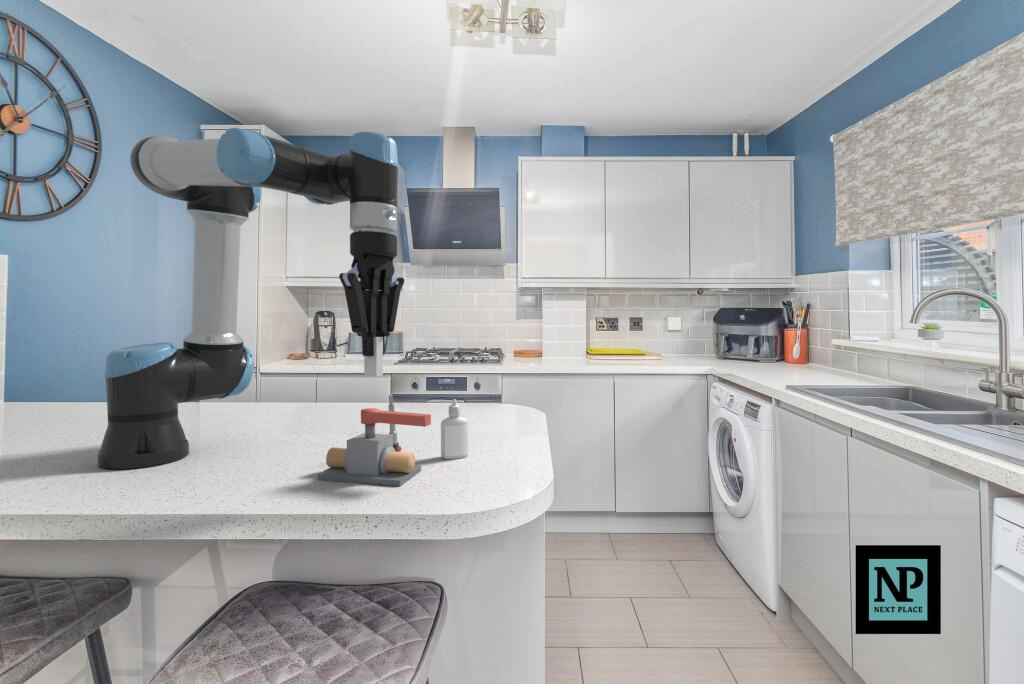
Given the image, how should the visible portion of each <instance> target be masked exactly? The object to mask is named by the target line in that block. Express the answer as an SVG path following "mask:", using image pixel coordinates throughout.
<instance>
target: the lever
mask: <svg viewBox="0 0 1024 684" xmlns="http://www.w3.org/2000/svg"><path fill="white" fill-rule="evenodd" d="M360 424H362V425H365V424H375V425H376V424H395V425H402V426H414V427H415V426H416V427H428V426H430V425H432V415H431V414H429V413H418V412H407V411H406V412H402V411H395V412H393V411H389V410H380V408H376V407H375V408H374V407H371V408H370V407H369V408H362V409H361V410H360Z"/></svg>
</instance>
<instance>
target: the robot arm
mask: <svg viewBox="0 0 1024 684" xmlns="http://www.w3.org/2000/svg"><path fill="white" fill-rule="evenodd" d="M348 149H349V152H346V153H343V154H342V153H341V154H337V155H330V154H326V153H323V152H320V151H318V150H314V149H310V148H308V147H303V146H300V145H296V144H292V143H289V142H286V141H284V140H280V139H277V138H273V137H271V136H269V135H268V136H267V135H264V134H262V133H261V132H259V131H255V130H250V129H249V130H247V129H243V128H239V127H230V128H228V129H226V131H225V132H224V133H223V134H222V135H221V136H220V138H209V139H208V138H206V139H205V138H204V139H192V140H191V139H190V140H188V139H187V140H181V139H177V138H175V137H171V136H168V135H167V136H166V135H157V136H156V135H154V136H148V137H145V138H143V139H140V140H139V141H138V142H137V143H136V144H135V145H134V146H133V147H132V150H131V152H130V156H129V157H130V158H129V159H130V163H129V164H130V166H131V170H132V172H133V174H134V176H135V177H136V178H137V180H138V181H139V182H140V183H141V184H142V185H143V186H145V187H146V188H147V189H149V190H151V191H152V192H153V193H155V194H158V195H161V196H163V197H165V198H170V199H173V200H178V201H183V202H186V212H187V213H188V214H189V215H190V216H191V217H192V218H193V220H194V250H193V277H192V278H193V281H192V287H193V288H192V290H193V291H192V312H191V313H192V317H191V320H192V322H191V331H190V333H188V334H187V335H186V336H184V337H183V342H182V345H183V346H182V348H178V347H177V345H176V343H174V342H169V341H167V342H155V343H146V344H137V345H130V346H127V347H122V348H118V349H113V350H112V351H111V352H109V353H108V354H107V356H106V358H105V371H104V378H105V382H106V383H105V385H106V389H105V390H106V409H107V428H106V430H105V432H104V436H103V439H102V443H101V447H100V449H99V451H98V453H97V466H98V465H99V466H100V467H99V466H98V467H99V468H102V467H104V468H103V469H107V468H111V469H110V470H127V469H128V470H129V469H139V468H140V469H141V468H146V467H153V466H159V464H160V465H163V464H168V463H172V462H175V461H178V460H182V459H183V458H185V456H186V457H187V456H189V454H190V443H189V440H188V439H187V438H186V434H185V431H184V429H183V427H182V424H181V421H180V418H179V404H182V403H188V402H189V403H190V402H197V401H198V402H199V401H204V400H205V401H206V400H213V399H225V398H228V397H233V396H239V395H240V394H242V393H244V392H245V390H246V389H247V388H248V387H249V385H250V384H251V382H252V379H253V377H254V371H255V361H254V360H255V359H254V358H253V353H252V351H251V350H250V349H249V347H247V346H246V345H244V339H243V338H242V337H241V336H240V335H239V334H238V333H237V326H238V325H237V322H238V302H239V301H238V300H239V299H238V297H239V273H240V272H239V271H240V252H241V251H240V248H241V247H240V244H241V226H242V225H243V224H245V223H246V222H247V221H248V220H249V214H250V213H252V212H254V211H256V210H257V208H258V207H259V205H260V204H259V203H260V202H261V200H262V193H263V192H262V191H263V190H262V188H263V189H264V188H265V189H270V190H271V189H272V190H275V191H280V192H287V193H289V194H293V195H299V196H303V197H304V198H306V199H307V200H308V201H310V202H311V203H312V204H315V205H334V204H335V205H336V204H339V203H344V202H348V201H349V229H350V230H352V231H353V232H351V233H350V235H349V254H350V255H351V256H352V257H353V259H352V263H351V264H350V265H351V266H350V267H351V268H350V269H349V270H348V271H346V272H340V274H339V277H338V278H339V280H340V283H341V285H342V286H343V288H344V289H343V290H344V294H345V298H346V299H345V300H346V305H347V312H348V317H349V322H350V327H351V331H352V333H355V334H356V335H357V336H358V337H361V342H362V343H361V344H362V345H361V347H362V348H361V349H362V350H361V353H362V357H363V361H364V362H363V364H364V365H363V368H364V371H363V372H364V373H363V374H364V375H363V376H365V377H375V378H376V377H377V378H378V377H382V376H384V373H383V371H384V368H383V367H384V355H385V353H386V352H385V344H386V343H385V339H386V338H385V337H390V336H391V333H393V332H394V330H395V325H396V321H397V320H396V319H397V314H398V308H399V301H400V296H401V290H402V289H403V286H404V284H405V279H404V277H399V276H398V275H397V274H396V273H395V269H396V268H395V265H394V259H395V258H396V257H397V256H398V237H397V236H396V234H395V233H396V232H397V231H398V181H399V180H398V179H399V178H398V175H399V174H398V172H399V171H398V169H399V159H398V158H399V157H398V147H397V143H396V141H395V140H394V139H393V138H392V137H390V136H389V135H387V134H383V133H381V132H376V131H360V132H355V133H354V134H352V136H351V137H350V139H349V147H348Z"/></svg>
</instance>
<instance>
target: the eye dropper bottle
mask: <svg viewBox="0 0 1024 684" xmlns="http://www.w3.org/2000/svg"><path fill="white" fill-rule="evenodd" d="M469 441H470V439H469V421H468V419H467V418H465V417H463V416H461V405H459V404H458V402H457V399H452V402H451V404H450V405H449V406H448V417H446V418H444V419H443V420H442V421H441V422H440V457H441V458H442V459H445V460H458V458H459V459H464V458H467V457H468V456H469V453H470V452H469V450H470V449H469ZM463 457H464V458H463Z"/></svg>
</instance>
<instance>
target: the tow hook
mask: <svg viewBox="0 0 1024 684" xmlns="http://www.w3.org/2000/svg"><path fill="white" fill-rule="evenodd" d="M388 403H389V404H388V411H393V412H396V411H395V404H394V397H393V394H389V395H388ZM388 434H391V435H393V448H394V449H395V451H396V452H402V446H401V445H400V444H399V442H398V432H397V430H396V424H389V431H388Z"/></svg>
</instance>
